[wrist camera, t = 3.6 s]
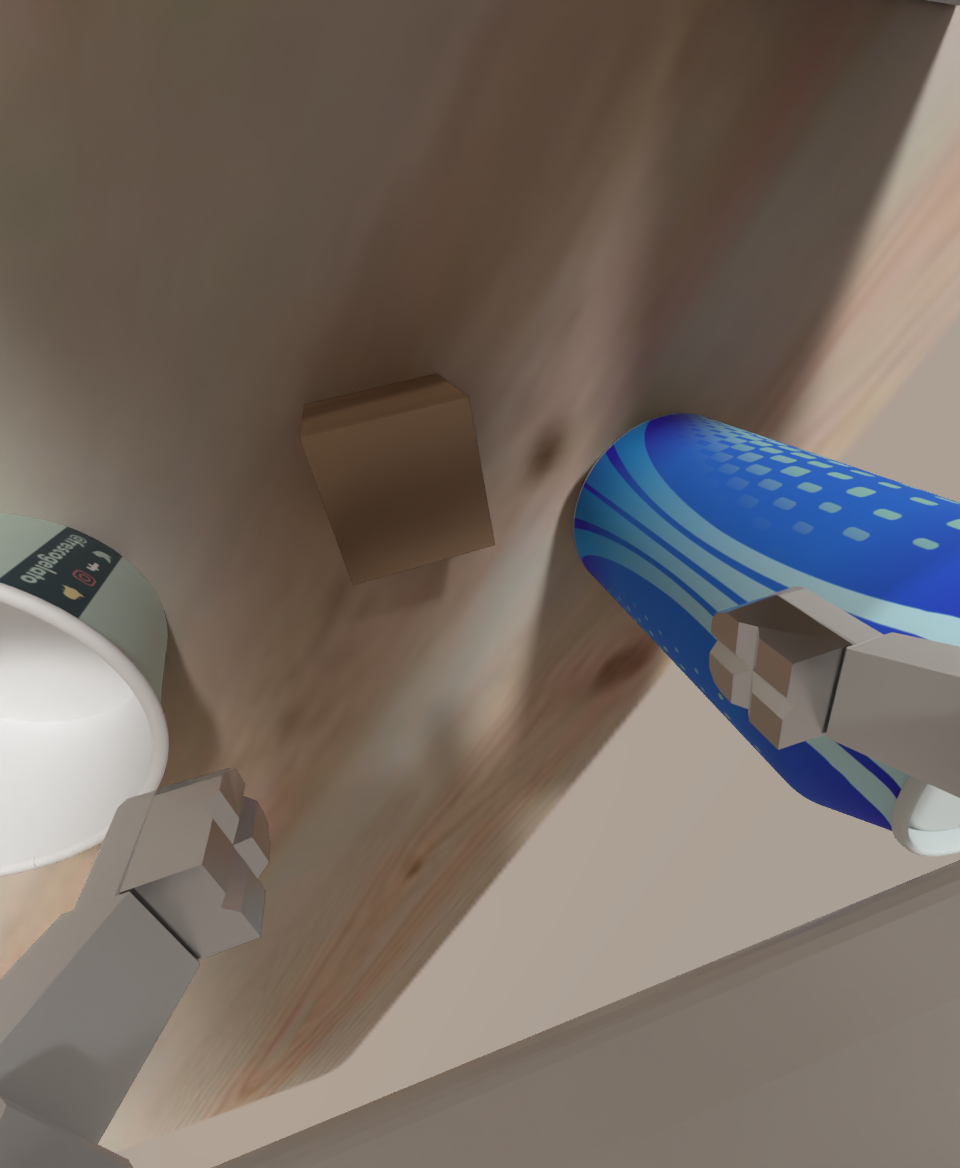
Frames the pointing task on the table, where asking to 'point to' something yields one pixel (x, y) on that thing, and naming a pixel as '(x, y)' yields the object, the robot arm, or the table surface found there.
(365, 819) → the table surface
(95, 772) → the food container
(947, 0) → the coffee box
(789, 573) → the beer can
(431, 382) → the walnut block
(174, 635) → the table surface
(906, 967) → the robot arm
